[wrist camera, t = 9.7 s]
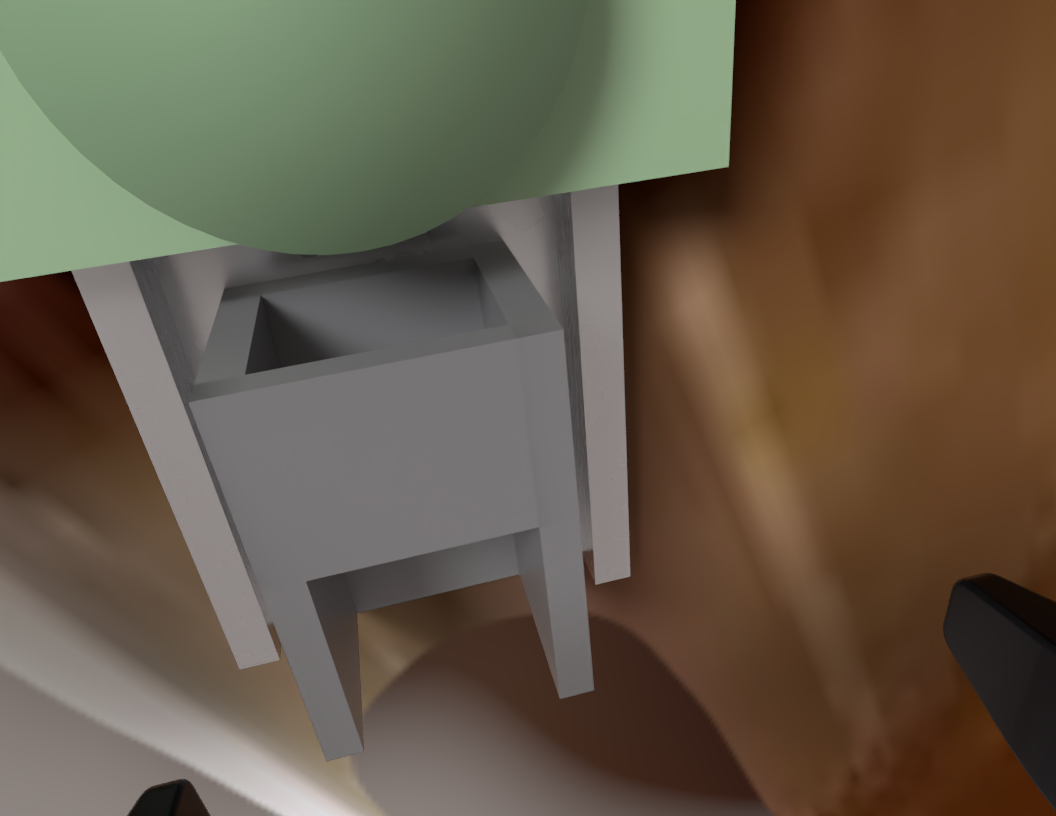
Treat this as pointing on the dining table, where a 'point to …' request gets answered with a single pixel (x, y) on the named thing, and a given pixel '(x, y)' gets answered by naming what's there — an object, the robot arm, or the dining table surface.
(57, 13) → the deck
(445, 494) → the chute
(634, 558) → the dining table surface
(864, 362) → the dining table surface
